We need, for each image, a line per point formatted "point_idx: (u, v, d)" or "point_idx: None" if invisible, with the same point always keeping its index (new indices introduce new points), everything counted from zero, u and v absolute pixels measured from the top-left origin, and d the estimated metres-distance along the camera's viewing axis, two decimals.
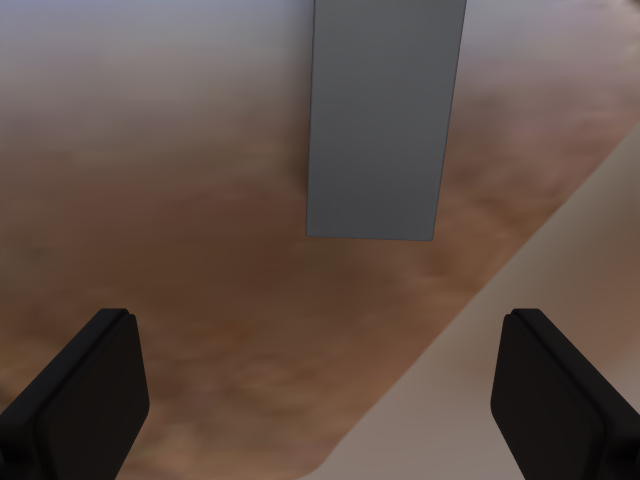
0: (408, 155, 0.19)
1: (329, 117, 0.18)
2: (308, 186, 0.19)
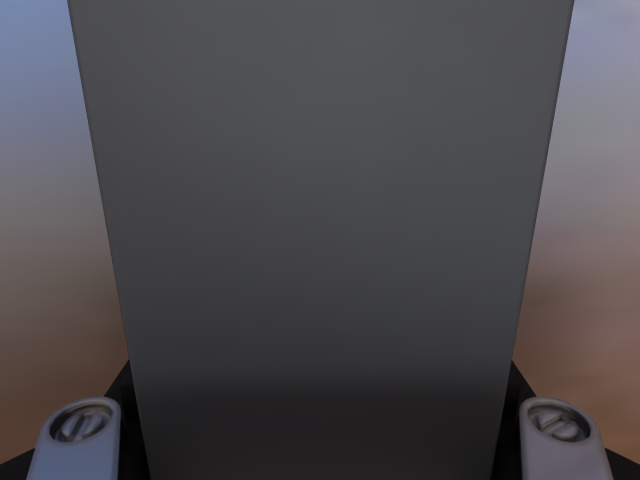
0: None
1: None
2: None
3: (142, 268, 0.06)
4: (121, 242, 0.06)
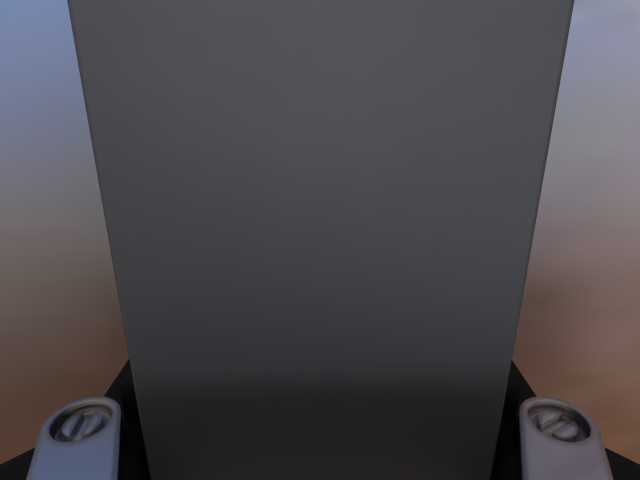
0: None
1: None
2: None
3: (142, 268, 0.06)
4: (121, 242, 0.06)
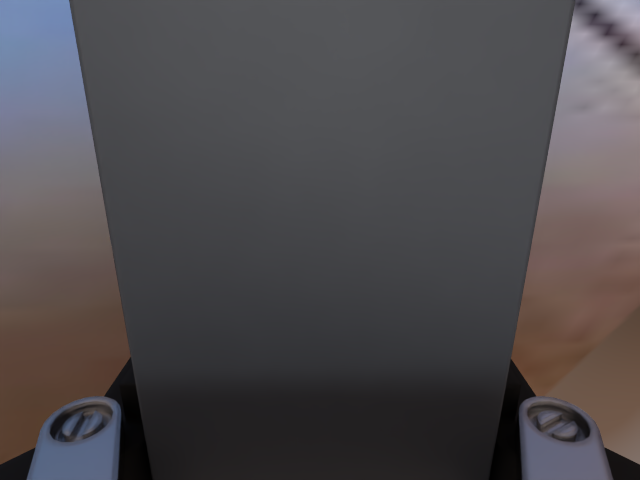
0: None
1: None
2: None
3: (144, 268, 0.06)
4: (123, 242, 0.06)
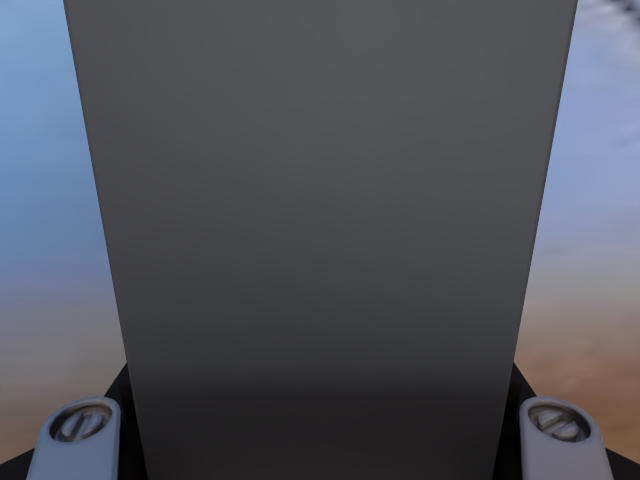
0: None
1: None
2: None
3: (138, 267, 0.06)
4: (117, 241, 0.06)
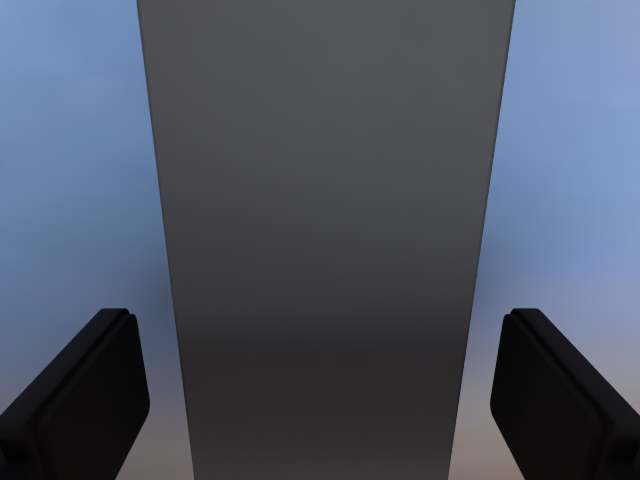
0: (379, 468, 0.10)
1: (221, 416, 0.09)
2: None
3: (185, 219, 0.08)
4: (170, 198, 0.08)
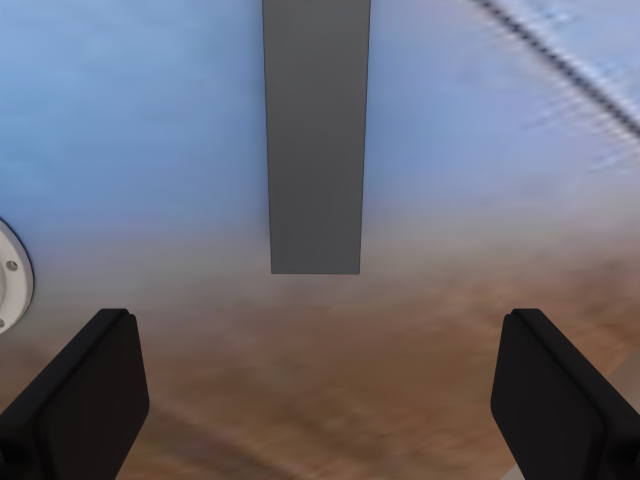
0: (336, 218, 0.28)
1: (281, 196, 0.27)
2: (270, 240, 0.28)
3: (273, 122, 0.26)
4: (269, 115, 0.26)
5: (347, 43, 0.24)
